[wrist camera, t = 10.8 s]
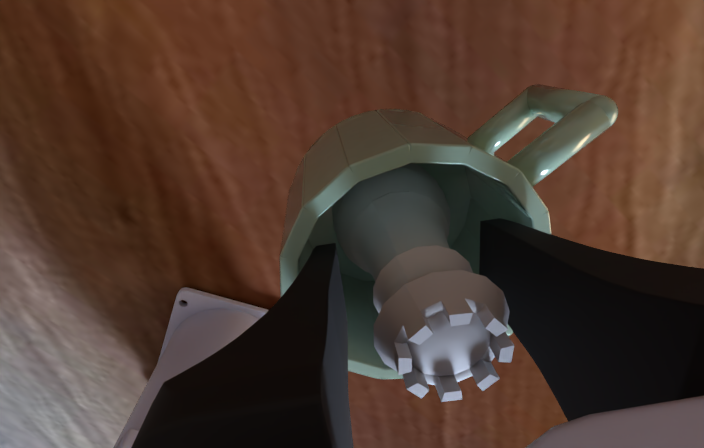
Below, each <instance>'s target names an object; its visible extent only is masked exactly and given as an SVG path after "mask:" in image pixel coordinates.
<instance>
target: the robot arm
mask: <svg viewBox="0 0 704 448" xmlns="http://www.w3.org/2000/svg"><path fill="white" fill-rule="evenodd" d="M479 275H482V276H486V277H487V278H488V279H489V280H490V281H492V282H493V283H494V284H495V285H496V286H497V287H498V288H500V289H501V290H502V291H503V293H504V296H505V299H506V302H507V305H508V308H509V311H510V312H509V318H508V323H507V324H508V325H509V326H510V328H511V329H512V331H513V332H514V333H515V335H516V336H517V337H518V339H519V340H520V342H521V343H522V344H523V346H524V347H525V349H526V350H527V351H528V353H529V354H530V356H531V357H532V358H533V360H534V362H535V363H536V365H537V366H538V368H539V369H540V371H541V373H542V374H543V376H544V378H545V380H546V381H547V383H548V385H549V387H550V388H551V390H552V392H553V394H554V395H555V397H556V399H557V401H558V403H559V405H560V406H561V408H562V410H563V412H564V414H565V416H566V418H567V420H568V422H565V423H563V424H560V425H557V426H554V427H552V428H550V429H549V430H548V431H547V432H545V433H544V434H543V435H541V436H540V437H539V438H538V439H536V440H535V441H534V442H532V443H531V444H530V445H528V446H527V447H526V448H704V269H702V268H694V267H686V266H680V265H674V264H667V263H661V262H655V261H649V260H644V259H639V258H634V257H630V256H625V255H621V254H616V253H612V252H608V251H604V250H600V249H596V248H593V247H589V246H586V245H583V244H579V243H576V242H572V241H569V240H566V239H563V238H560V237H557V236H554V235H551V234H548V233H545V232H542V231H540V230H537V229H534V228H531V227H528V226H525V225H522V224H519V223H516V222H513V221H510V220H506V219H501V218H497V219H491V220H484V221H480V261H479ZM181 300H185V301H186V302H187V303H183V302H182V301H181ZM114 448H353V439H352V429H351V419H350V409H349V398H348V322H347V314H346V306H345V298H344V291H343V285H342V279H341V273H340V267H339V261H338V255H337V249H336V243H332V244H325V245H318V246H316V247H315V248H314V249H313V251H312V253H311V255H310V256H309V258H308V260H307V262H306V263H305V265H304V267H303V268H302V270H301V271H300V273H299V274H298V276H297V277H296V279H295V280H294V281H293V283H292V284H291V285H290V287H289V288H288V289H287V291H286V292H285V293H284V294H283V296H282V297H281V298H280V299H279V300H278V302H277V303H276V304H275V305H274V306H273V307H272V308H271V309H270V310H267V309H264V308H260V307H257V306H253V305H249V304H246V303H242V302H239V301H235V300H231V299H228V298H224V297H220V296H217V295H213V294H210V293H206V292H202V291H199V290H195V289H192V288H187V287H184V288H181V289H180V290H179V292H178V293H177V296H176V299H175V303H174V307H173V310H172V314H171V317H170V321H169V324H168V328H167V332H166V335H165V339H164V342H163V346H162V349H161V353H160V357H159V360H158V364H157V366H156V368H155V370H154V371H153V373H152V375H151V377H150V379H149V381H148V383H147V385H146V387H145V389H144V391H143V392H142V394H141V396H140V398H139V400H138V402H137V404H136V406H135V408H134V410H133V412H132V414H131V415H130V417H129V419H128V421H127V423H126V425H125V427H124V429H123V431H122V433H121V435H120V436H119V438H118V440H117V442H116V444H115V446H114Z"/></svg>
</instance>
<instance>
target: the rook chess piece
mask: <svg viewBox="0 0 704 448" xmlns="http://www.w3.org/2000/svg"><path fill="white" fill-rule="evenodd" d="M332 210H333V224H334V230H335V232H336V234H337V240H338V242H339V244H340V245H341V247H342V249H343V251H344V252H345V254H346V256H347V257H348V258H349V260H350V261H352V262H353V263H355V264H356V265H357V266H359V267H360V268H361V269H363V270H364V271H365V272H369V273H370V274H371V275H372V276H373V278H374V280H375V284H374V287H373V302H374V306H375V308H376V309H377V311H378V313H379V315H378V317H377V319H376V321H375V323H374V347H375V349H376V351H377V352H378V354H379V356H380V357H381V359H382V361H383V362H384V364H386V365H387V366H389V367H391V368H392V369H394V370H395V371H397V372H398V375H401V374H402V375H403V378H404V381H405V385H406V389H407V390H409V391H410V392H412V393H414V394H415V395H417V396H419V397H420V398H423V396H424V395H425V394H426V393H427V392H428V391H429V388H428V385H427V384H431V385H435V386H436V389H437V392H438V395H439V397H440V400H441V402H444V401H453V400H461V399H462V394H461V390H460V387H459V385H458V383H457V382H459V381H461V380H464V379H466V378H468V377H471V376H473V377H474V379H475V381H476V383H477V385H478V386H479V387H480V389H481V390H482V391H484V390H485V389H486V388H488V387H489V386H490V385H492V384H493V383H494V382H496V381H497V380H498V379H500V378H499V376H498V374H497V373H496V371H495V369H494V367H493V366H492V364H491V361H492V360H493V358H494V357H496V358H497V360H498V362H511V359H512V354H513V349H514V344H513V343H512V341H511V340H510V338H509V337H508V335H507V334H506V331H507V330H509V329H508V328H507V323H508V318H509V312H510V311H509V308H508V305H507V302H506V299H505V296H504V293H503V291H502V290H501V289H500V288H498V287H497V286H496V285H495V284H494V283H493V282H492V281H490V280H489V279H488V278H487V277H486V276H482V275H478V274H475V273H473V271H472V269H471V266H470V263H469V262H468V261H467V260H466V259H465V258H464V257H463V256H461V255H460V254H459V253H458V252H457V251H455V250H452V249H450V248H449V245H448V242H447V237H448V235H449V228H450V215H451V214H450V208H449V206H448V203H447V200H446V198H445V195H444V192H443V190H442V189H441V188H440V187H439V185H438V183H437V181H436V180H435V179H434V178H433V177H432V176H431V175H430V174H429V173H428V172H427V171H426V170H425V169H424V168H423V167H421V166H418V165H416V164H413V163H409V164H406V165H404V166H401V167H398V168H396V169H393V170H390V171H387V172H385V173H382V174H379V175H376V176H374V177H371V178H368V179H365V180H363V181H360V182H358V183H357V184H356V185H355V186H353V187H352V188H351V189H350V190H349V191H348V192H347V193H345V194H344V195H343V196H342V197H341V198H340V199H339V200H338V201H336V202H335V203H334V206H333V209H332Z"/></svg>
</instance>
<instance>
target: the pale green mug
mask: <svg viewBox="0 0 704 448" xmlns="http://www.w3.org/2000/svg"><path fill="white" fill-rule="evenodd" d="M617 116H618V107H617V104H616V103H615V101H614V100H613V99H611V98H609V97H607V96H603V95H598V94H592V93H586V92H580V91H575V90H569V89H563V88H557V87H552V86H546V85H540V84H536V85H532V86H530V87H528V88H526V89H525V90H524V91H523V92H522V93H520V94H519V95H518V96H517V97H516V98H514V99H513V100H512V101H511V102H510V103H508V104H507V105H506V106H505V107H504V108H503V109H501V110H500V111H499V112H498V113H497V114H495V115H494V116H493V117H492V118H491V119H489V120H488V121H487V122H486V123H485V124H483V125H482V126H481V127H480V128H479V129H478V130H476V131H475V132H474V133H473V134H472V135H470V136H469V137H468V138H466V137H465V136H463V135H461V134H460V133H458V132H456V131H455V130H453V129H451V128H449V127H447V126H445V125H443V124H441V123H439V122H437V121H436V120H434V119H432V118H430V117H428V116H426V115H424V114H422V113H418V112H412V111H408V110H400V109H380V110H374V111H367V112H364V113H361V114H358V115H354V116H352V117H350V118H348V119H346V120H343V121H341V122H340V123H338V124H337V125H335V126H333V127H332V128H330V129H329V130H328V131H326V132H325V133H324V134H323V135H322V136H320V137H319V138H318V139H317V141H316V142H315V143H314V144H313V145H312V146H311V147H310V148H309V150H308V151H307V153H306V154H305V156H304V157H303V159H302V161H301V162H300V164H299V166H298V168H297V171H296V174H295V176H294V179H293V183H292V185H291V187H290V190H289V195H288V202H287V209H286V216H285V223H284V230H283V237H282V244H281V251H280V290H281V297H282V296H283V294H284V293H285V292H286V291H287V289H288V288H289V287H290V285H291V284H292V283H293V281H294V280H295V279H296V277H297V276H298V274H299V273H300V271H301V270H302V268H303V267H304V265H305V263H306V262H307V260H308V258H309V256H310V255H311V253H312V251H313V249H314V248H315V247H316V246H318V245H325V244H332V243H336V249H337V255H338V261H339V267H340V273H341V279H342V285H343V291H344V298H345V306H346V314H347V322H348V371H351V372H355V373H358V374H362V375H366V376H369V377H373V378H377V379H404V378H403V375H402V374H401V375H398V372H397V371H395V370H394V369H392V368H391V367H389V366H387V365H386V364H384V362H383V361H382V359H381V357H380V356H379V354H378V352H377V351H376V349H375V347H374V323H375V321H376V319H377V317H378V315H379V313H378V311H377V309H376V308H375V306H374V302H373V287H374V284H375V280H374V278H373V276H372V275H371V274H370V273H369V272H365V271H364V270H363V269H361V268H360V267H359V266H357V265H356V264H355V263H353V262H352V261H350V260H349V258H348V257H347V256H346V254H345V252H344V251H343V249H342V247H341V245H340V244H339V242H338V240H337V234H336V232H335V230H334V224H333V210H332V209H333V206H334V203H335V202H336V201H338V200H339V199H340V198H341V197H342V196H343V195H344V194H345V193H347V192H348V191H349V190H350V189H351V188H352V187H353V186H355V185H356V184H357V183H358V182H360V181H363V180H365V179H368V178H371V177H374V176H376V175H379V174H382V173H385V172H387V171H390V170H393V169H396V168H398V167H401V166H404V165H406V164H409V163H413V164H416V165H418V166H421V167H423V168H424V169H425V170H426V171H427V172H428V173H429V174H430V175H431V176H432V177H433V178H434V179H435V180H436V181H437V183H438V185H439V187H440V188H441V189H442V190H443V192H444V195H445V198H446V200H447V203H448V206H449V208H450V214H451V215H450V228H449V235H448V237H447V242H448V245H449V248H450V249H452V250H455V251H457V252H458V253H459V254H460V255H461V256H463V257H464V258H465V259H466V260H467V261H468V262H469V263H470V266H471V269H472V271H473V273H475V274H478V275H479V261H480V221H484V220H491V219H497V218H501V219H506V220H510V221H513V222H516V223H519V224H522V225H525V226H528V227H531V228H534V229H537V230H540V231H542V232H545V233H548V234H551V227H550V218H549V211H548V209H547V207H546V206H545V204H544V203H543V201H542V200H541V198H540V197H539V195H538V194H537V193H536V191H535V190H534V188H533V186H534V185H536V184H537V183H538V182H540V181H541V180H542V179H543V178H545V177H546V176H547V175H549V174H550V173H551V172H553V171H554V170H555V169H556V168H558V167H559V166H560V165H562V164H563V163H564V162H566V161H567V160H568V159H569V158H571V157H572V156H573V155H575V154H576V153H577V152H579V151H580V150H581V149H582V148H584V147H585V146H586V145H588V144H589V143H590V142H592V141H593V140H594V139H595V138H597V137H598V136H599V135H601V134H602V133H603V132H605V131H606V130H607V129H609V128H610V127H611V126H612V125H613V124H614V122H615V121H616V119H617ZM537 117H539V118H542V119H545V120H548V121H551V122H555V124H554V125H552V126H551V127H550V128H549V129H547V130H546V131H545V132H544V133H542V134H541V135H540V136H539V137H537V138H536V139H535V140H534V141H532V142H531V143H530V144H529V145H528V146H526V147H525V148H524V149H523V150H521V151H520V152H519V153H518V154H516V155H515V156H514V157H513V158H511V159H510V160H509V161H508V162H507V161H505V160H503V159H502V158H500V157H498V156H496V155H495V154H493V153H494V152H495V151H496V150H497V149H499V148H500V147H501V146H502V145H504V144H505V143H506V142H507V141H508V140H510V139H511V138H512V137H513V136H515V135H516V134H517V133H518V132H519V131H521V130H522V129H523V128H524V127H526V126H527V125H528V124H529V123H531V122H532V121H533V120H534V119H535V118H537ZM507 328H508V329H509V330H507V331H506V334H507V335H508V337H509V336H510V335H511V334H512V333H513V331H512V329H511V328H510V326H509V325H508V324H507Z"/></svg>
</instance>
